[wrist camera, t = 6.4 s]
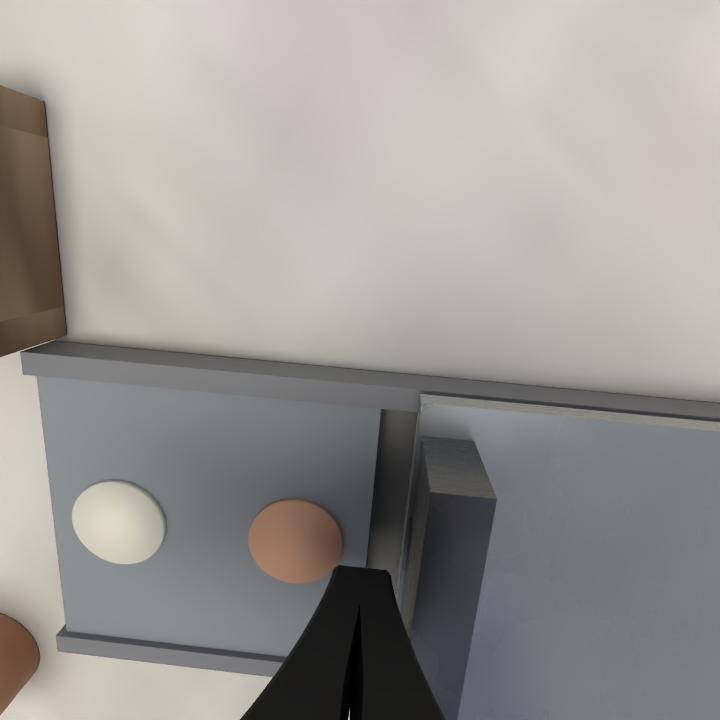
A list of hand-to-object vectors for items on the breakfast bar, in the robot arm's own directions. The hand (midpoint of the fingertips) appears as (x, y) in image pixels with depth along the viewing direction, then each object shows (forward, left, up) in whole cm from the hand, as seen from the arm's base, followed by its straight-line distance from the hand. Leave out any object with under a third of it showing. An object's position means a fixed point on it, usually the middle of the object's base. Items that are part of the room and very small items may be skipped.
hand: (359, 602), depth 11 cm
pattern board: (0, -2, -3) cm, 4 cm away
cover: (0, -6, -2) cm, 6 cm away
